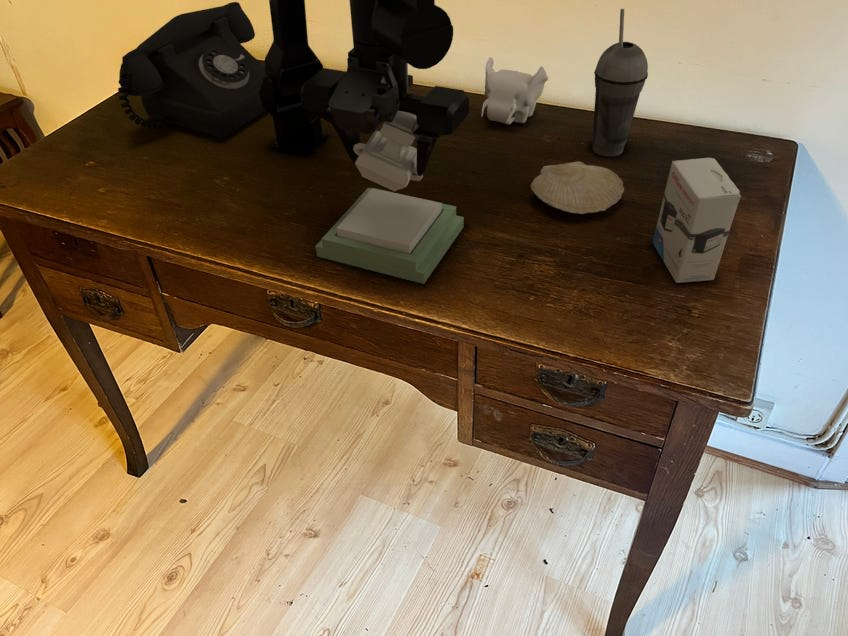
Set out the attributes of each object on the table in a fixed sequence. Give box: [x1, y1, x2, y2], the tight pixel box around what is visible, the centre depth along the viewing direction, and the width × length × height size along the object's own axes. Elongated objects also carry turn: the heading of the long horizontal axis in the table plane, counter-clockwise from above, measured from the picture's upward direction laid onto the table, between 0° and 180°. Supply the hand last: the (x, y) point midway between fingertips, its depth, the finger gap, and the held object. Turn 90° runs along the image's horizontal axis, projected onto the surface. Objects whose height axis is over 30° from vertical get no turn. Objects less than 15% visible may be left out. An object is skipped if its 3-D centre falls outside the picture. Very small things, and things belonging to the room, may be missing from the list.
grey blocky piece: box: [353, 111, 424, 192], centre depth 86 cm, size 9×7×8 cm
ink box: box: [652, 157, 742, 284], centre depth 86 cm, size 8×5×12 cm, turn 5°
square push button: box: [337, 187, 443, 254], centre depth 93 cm, size 10×10×2 cm
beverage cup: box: [592, 8, 649, 157], centre depth 103 cm, size 7×7×20 cm
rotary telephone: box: [117, 1, 266, 138], centre depth 119 cm, size 30×17×15 cm, turn 148°
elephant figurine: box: [481, 56, 549, 125], centre depth 115 cm, size 10×12×9 cm
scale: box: [314, 187, 465, 285], centre depth 94 cm, size 15×13×3 cm
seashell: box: [530, 160, 625, 215], centre depth 100 cm, size 12×12×3 cm
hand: (387, 167), depth 88 cm, fingers closed on grey blocky piece, 8 cm apart
